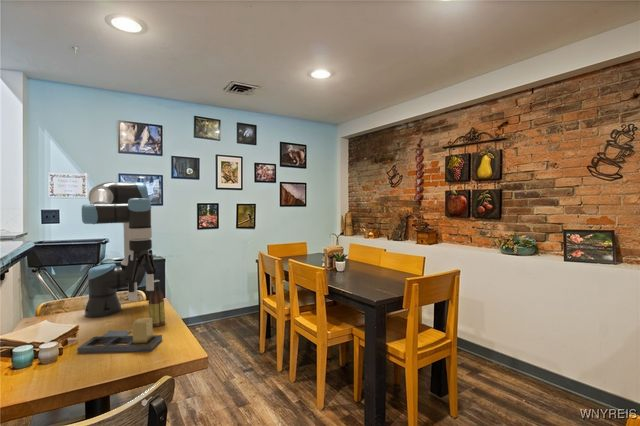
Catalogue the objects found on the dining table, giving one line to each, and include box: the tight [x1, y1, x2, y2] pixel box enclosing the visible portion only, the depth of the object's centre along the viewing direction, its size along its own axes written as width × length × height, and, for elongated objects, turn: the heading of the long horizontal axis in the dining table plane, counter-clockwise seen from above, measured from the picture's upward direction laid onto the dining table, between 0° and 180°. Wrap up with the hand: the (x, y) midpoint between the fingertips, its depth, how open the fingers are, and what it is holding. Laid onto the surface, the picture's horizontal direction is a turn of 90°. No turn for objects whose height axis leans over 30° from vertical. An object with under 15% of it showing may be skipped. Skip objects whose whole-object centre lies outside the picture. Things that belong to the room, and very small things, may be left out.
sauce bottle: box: [148, 279, 166, 328], centre depth 150 cm, size 7×6×20 cm
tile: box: [100, 329, 132, 337], centre depth 138 cm, size 9×9×1 cm
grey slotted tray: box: [76, 334, 163, 354], centre depth 128 cm, size 10×26×2 cm, turn 93°
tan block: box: [132, 317, 154, 345], centre depth 128 cm, size 5×5×10 cm
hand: (141, 295), depth 127 cm, fingers open, 13 cm apart
